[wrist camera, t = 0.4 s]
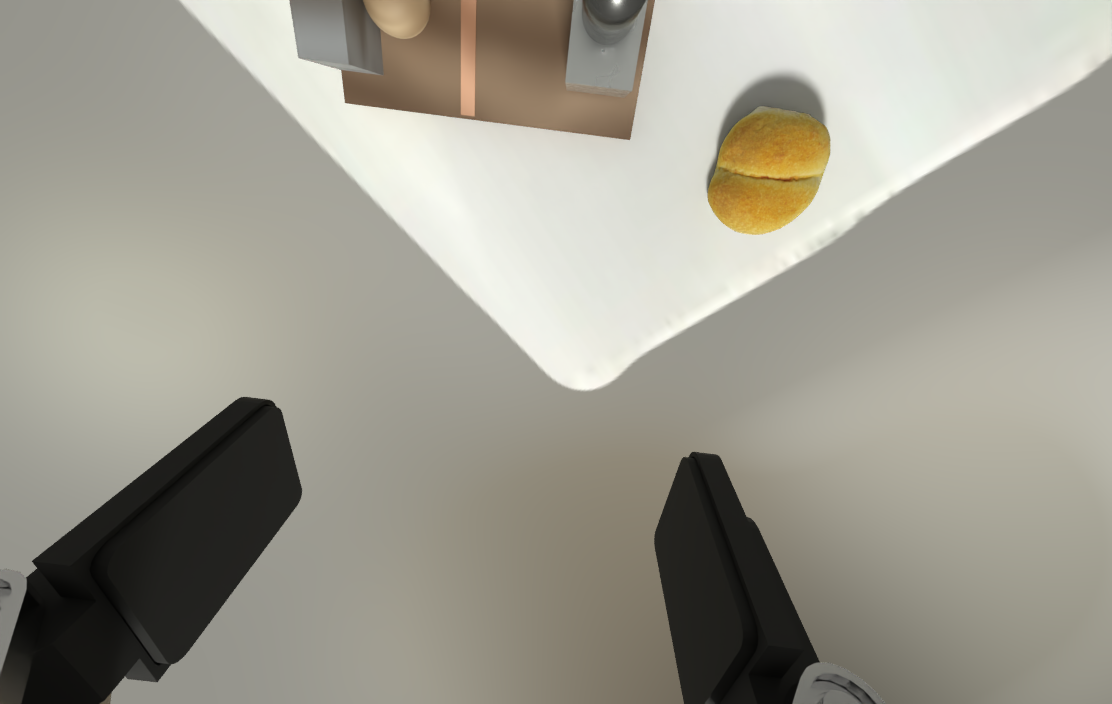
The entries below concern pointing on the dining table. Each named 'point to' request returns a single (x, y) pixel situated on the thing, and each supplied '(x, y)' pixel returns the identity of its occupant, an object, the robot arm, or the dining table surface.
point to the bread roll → (768, 170)
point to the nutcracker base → (462, 60)
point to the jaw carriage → (604, 46)
